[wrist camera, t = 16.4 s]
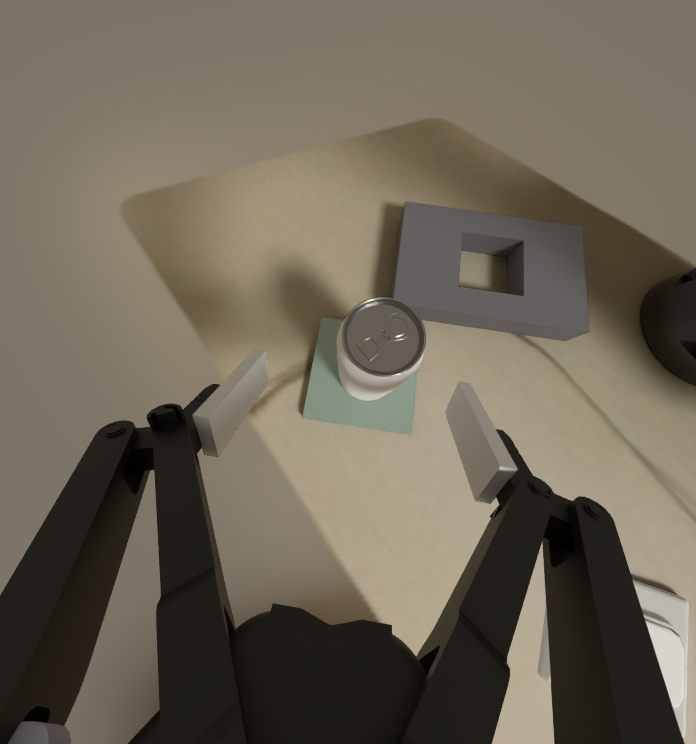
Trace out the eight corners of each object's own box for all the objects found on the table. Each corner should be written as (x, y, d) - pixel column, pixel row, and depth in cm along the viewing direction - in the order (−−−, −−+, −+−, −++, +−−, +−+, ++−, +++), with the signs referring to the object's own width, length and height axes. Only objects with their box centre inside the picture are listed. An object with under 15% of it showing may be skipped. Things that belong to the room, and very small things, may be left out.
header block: (561, 243, 33) (582, 226, 30) (565, 340, 30) (589, 331, 27) (400, 221, 34) (405, 201, 31) (388, 314, 31) (392, 303, 28)
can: (407, 377, 28) (452, 343, 16) (362, 413, 27) (377, 404, 15) (371, 335, 29) (390, 274, 17) (327, 367, 28) (315, 326, 16)
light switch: (575, 565, 23) (731, 622, 21) (542, 544, 27) (672, 591, 25) (559, 707, 20) (733, 782, 19) (526, 661, 24) (667, 720, 23)
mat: (418, 334, 30) (421, 331, 29) (409, 434, 28) (411, 434, 27) (322, 320, 30) (321, 316, 29) (303, 417, 28) (302, 417, 27)
